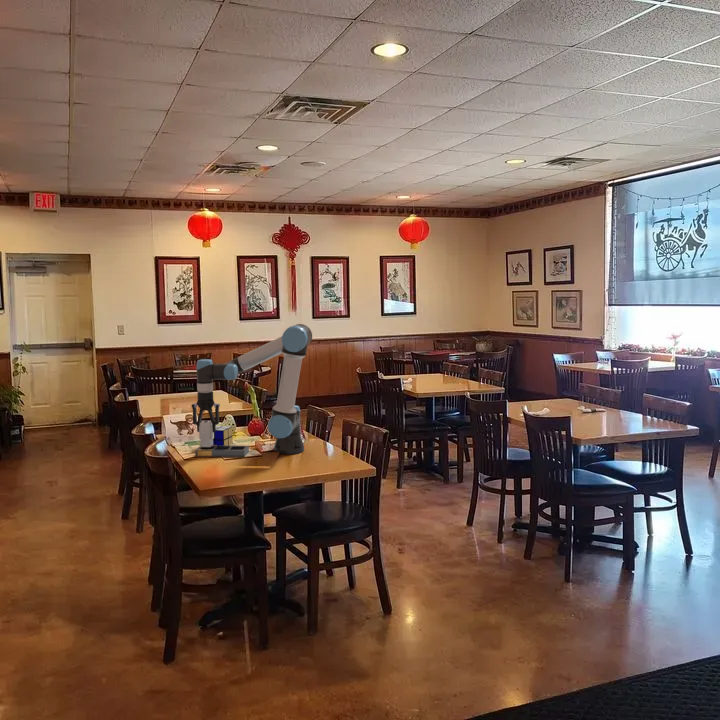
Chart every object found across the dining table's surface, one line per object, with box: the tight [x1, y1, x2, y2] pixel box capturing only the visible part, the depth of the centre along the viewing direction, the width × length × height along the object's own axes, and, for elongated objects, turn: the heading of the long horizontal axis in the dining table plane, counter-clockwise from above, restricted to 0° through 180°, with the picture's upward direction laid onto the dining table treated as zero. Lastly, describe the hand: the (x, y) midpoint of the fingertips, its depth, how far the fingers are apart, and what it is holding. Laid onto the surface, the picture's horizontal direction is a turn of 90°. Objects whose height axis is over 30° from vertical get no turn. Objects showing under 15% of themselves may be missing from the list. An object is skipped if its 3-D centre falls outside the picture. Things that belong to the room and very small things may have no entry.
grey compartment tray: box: [194, 444, 250, 458], centre depth 351 cm, size 24×10×4 cm, turn 87°
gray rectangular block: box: [199, 420, 213, 447], centre depth 350 cm, size 5×5×12 cm
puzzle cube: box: [213, 424, 234, 445], centre depth 369 cm, size 10×10×10 cm
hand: (206, 438), depth 351 cm, fingers closed on gray rectangular block, 5 cm apart
